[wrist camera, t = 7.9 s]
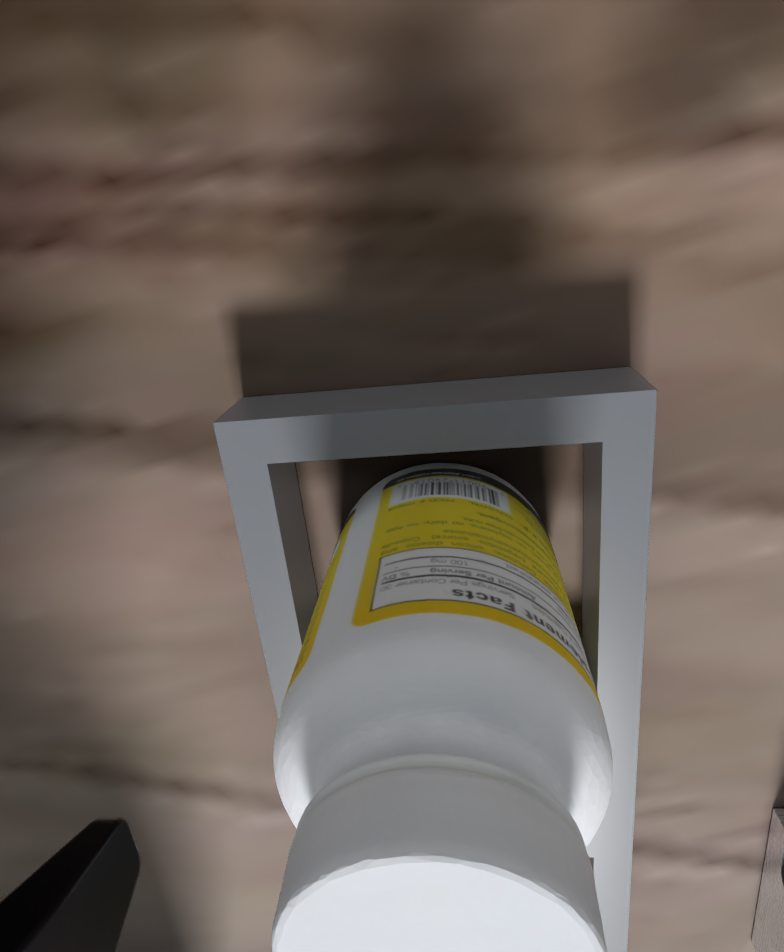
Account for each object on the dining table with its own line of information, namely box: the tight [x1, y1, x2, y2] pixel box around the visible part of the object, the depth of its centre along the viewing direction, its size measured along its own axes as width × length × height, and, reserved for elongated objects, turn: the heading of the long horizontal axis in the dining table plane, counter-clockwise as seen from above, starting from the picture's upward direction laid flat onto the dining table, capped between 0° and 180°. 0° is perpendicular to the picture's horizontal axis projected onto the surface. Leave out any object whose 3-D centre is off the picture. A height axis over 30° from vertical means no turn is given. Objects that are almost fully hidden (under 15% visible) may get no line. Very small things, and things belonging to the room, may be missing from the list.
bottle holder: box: [213, 367, 657, 952], centre depth 18 cm, size 21×9×2 cm, turn 6°
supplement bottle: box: [271, 463, 613, 952], centre depth 12 cm, size 5×5×10 cm
